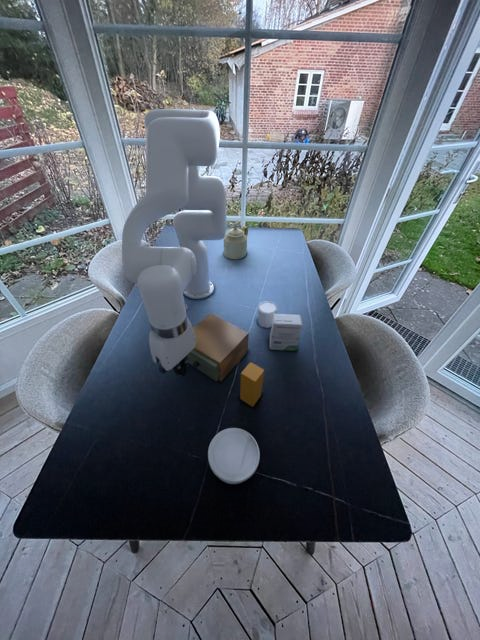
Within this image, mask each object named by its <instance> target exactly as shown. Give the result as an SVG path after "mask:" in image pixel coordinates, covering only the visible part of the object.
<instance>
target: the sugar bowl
mask: <svg viewBox="0 0 480 640" xmlns="http://www.w3.org/2000/svg"><path fill="white" fill-rule="evenodd" d="M232 227H233V228H230V229H228V230H227V231H226V235H225V237H224V238H223V255H224V256H225V257H226V258H228V259H231V260H240V259H243V258H245V257H246V256H247V247H248V235H249V228H248V226H246V225H242V226H241V228H238V225H237V224H236V223H234V224H233V225H232Z"/></svg>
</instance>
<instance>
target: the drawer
mask: <svg viewBox="0 0 480 640" xmlns="http://www.w3.org/2000/svg"><path fill="white" fill-rule="evenodd" d="M186 364H189V365H190V366H191V367H194V368H195V369H196V370H198V371H199V372H201V373H203V374H204V375H206V376H207V377H209V378H211V380H214V381H215V382H218V381H219V380H218V379H219V367H218V363H216V362H215V361H213V360H211V359H210V358H208V357H206V356H205V355H203V354H201V353H200V352H198V351H196V350H195V349H193V350H192V351H191V352H190V353H189V354H188V361H187V363H186Z"/></svg>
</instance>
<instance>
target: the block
mask: <svg viewBox="0 0 480 640" xmlns="http://www.w3.org/2000/svg"><path fill="white" fill-rule="evenodd" d="M264 377H265V369H264V368H262V367H260V366H259V365H257V364H256V363H253V362H251V361H250V362H249V363H248V364H247V366H245V368H244V369H243V370H242V372H241V373H240V385H239V386H240V388H239V389H240V390H239V399H240V400H241V401H243V402H244V403H246V404H248V405H249V406H251V407H252V408H254V406H255V405H256V403H257V402H258V400H259V399H260V398H261V396H262V390H263V383H264Z"/></svg>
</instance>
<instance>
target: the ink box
mask: <svg viewBox="0 0 480 640" xmlns="http://www.w3.org/2000/svg"><path fill="white" fill-rule="evenodd" d="M302 329H303V320H302V316H301V314H292V313H291V314H288V313H276V314H273V319H272V326H271V327H270V333H269V350H274V351H297V349H298V345H299V341H300V337H301V333H302Z"/></svg>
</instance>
